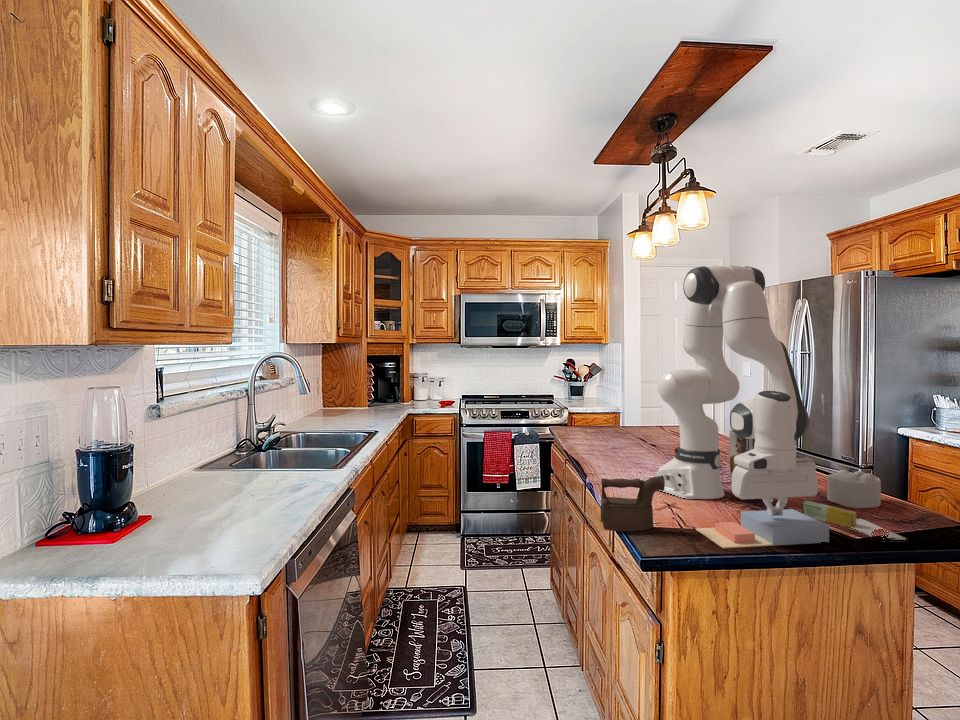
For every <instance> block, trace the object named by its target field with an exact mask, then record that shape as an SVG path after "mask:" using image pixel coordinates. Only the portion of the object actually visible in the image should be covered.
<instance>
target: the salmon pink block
mask: <svg viewBox="0 0 960 720" xmlns="http://www.w3.org/2000/svg"><path fill="white" fill-rule="evenodd" d="M714 527H715V531H716V532H718V533H719V534H721V535H723V536H724V537H726V538H727V539H729V540H730V541H732V542H734V543H745V542H755V533H753V532H751V531H749V530H748V529H746V528H744V527H742V526H741V524H739V523H737V522H736V521H723V522H721V521H720V522H714Z"/></svg>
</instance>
